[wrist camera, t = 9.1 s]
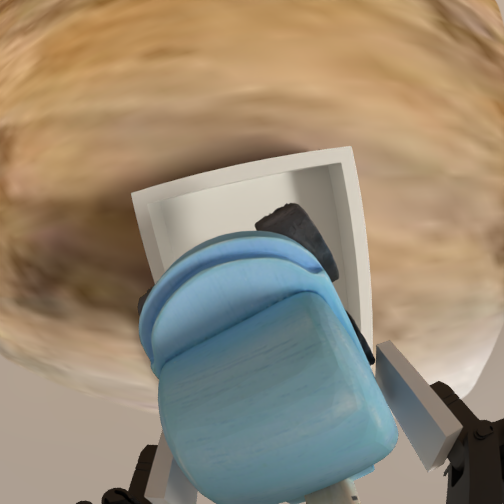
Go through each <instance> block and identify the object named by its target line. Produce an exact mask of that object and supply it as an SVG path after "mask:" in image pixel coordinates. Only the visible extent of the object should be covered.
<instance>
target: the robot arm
mask: <svg viewBox="0 0 504 504" xmlns="http://www.w3.org/2000/svg"><path fill="white" fill-rule="evenodd" d="M375 379H376V382H377V384H378V386H379V388H380V390H381V392H382V394H383V396H384V398H385V400H386V403H387V404H388V406H389V408H390V409H391V411H392V413H393V414H394V416H395V417H396V419H397V421H398V422H399V424H400V426H401V427H402V429H403V431H404V432H405V434H406V436H407V437H408V439H409V441H410V443H411V444H412V446H413V448H414V449H415V451H416V453H417V455H418V456H419V458H420V460H421V461H422V463H423V465H424V466H425V468H426V470H427V472H430V471H432V470H434V469H436V468H437V467H439V466H441V465H443V464H444V462H445V460H446V458H448V459H449V461H450V464H449V466H448V467H447V469H446V470H445V472H444V476H446V474H447V473H448V489H447V500H446V504H502V503H503V504H504V419H501V420H498V421H496V422H490V421H487V420H479V419H478V418H477V417H476V416H475V415H474V414H473V413H472V411H471V410H470V409H469V408H468V407H467V406H466V405H465V403H463V401H462V400H461V399H459V397H458V396H457V395H456V394H455V393H454V391H453V390H452V389H451V388H450V387H449V386H448V385H446V384H444V383H442V382H440V381H438V382H436V383H434V384H432V385H430V386H429V385H428V383H427V382H426V381H425V380H424V379H423V377H422V376H421V375H420V374H419V373H418V372H417V371H416V369H415V368H414V367H413V366H412V365H411V364H410V362H409V361H408V360H407V359H406V358H405V357H404V356H403V355H402V353H401V352H400V351H399V350H398V349H397V348H396V347H395V346H394V344H393V343H392V342H391V341H390V340H389V341H386V342H383V343H380V344H377V345H376V374H375ZM197 492H198V490H197V489H196V488H195V487H194V486H193V485H192V484H191V482H190V481H189V480H188V479H187V477H186V476H185V475H184V473H183V472H182V470H181V469H180V467H179V466H178V464H177V462H176V461H175V459H174V457H173V455H172V452H171V450H170V448H169V446H168V444H167V442H166V439H165V436H164V432H163V430H162V433H161V437H160V440H159V444H158V445H147V446H146V447H145V448H144V449H143V450H142V452H141V453H140V456H139V459H138V463H137V465H136V470H135V472H134V475H133V478H132V481H131V484H130V487H129V490H128V491H127V490H125V489H122V488H113V489H110V490H108V491H107V492H106V493H104V495H103V497H102V504H196V501H197ZM76 504H92V503H91V502H89V501H80V502H78V503H76Z"/></svg>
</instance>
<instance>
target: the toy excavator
mask: <svg viewBox="0 0 504 504" xmlns="http://www.w3.org/2000/svg"><path fill="white" fill-rule="evenodd" d="M255 228H256V230H257V231H240V232H234V233H229V234H224V235H220V236H217V237H215V238H212V239H209V240H207V241H205V242H203V243H201V244H199V245H197V246H195V247H194V248H192V249H190V250H189V251H187V252H186V253H184V254H183V255H182V256H181V257H179V258H178V259H177V260H176V261H175V262H174V263H173V264H172V265H171V266H170V267H169V268H168V269H167V271H166V272H165V273H164V274H163V275H162V276H161V278H160V279H159V280H158V281H157V283H156V284H155V285H154V286H153V287H151V288H150V289H149V290H148V291H147V293H146V294H145V295H143V296H142V297H141V298H140V299H139V303H138V312H139V315H140V319H139V337H140V341H141V344H142V346H143V348H144V350H145V352H146V354H147V356H148V357H149V359H150V361H151V369H152V371H153V373H154V374H155V375H156V376H157V378H158V379H159V387H158V406H159V414H160V420H161V424H162V428H163V432H164V436H165V439H166V442H167V444H168V446H169V448H170V450H171V452H172V455H173V457H174V459H175V461H176V462H177V464H178V466H179V467H180V469H181V470H182V472H183V473H184V475H185V476H186V477H187V479H188V480H189V481H190V482H191V484H192V485H193V486H194V487H195V488H196V489H197V490H198V491H199V492H200V493H201V494H202V495H204V496H205V497H207V498H208V499H210V500H212V501H213V502H214V503H216V504H279V503H282V502H288V503H290V504H299V503H302V502H305V501H306V504H361V502H360V499H359V497H358V494H357V491H356V488H355V485H354V483H353V481H354V480H356V479H358V478H360V477H362V476H365V475H367V474H369V473H371V472H373V471H374V464H375V463H377V462H379V461H381V460H382V459H383V458H385V457H386V456H387V455H388V454H389V453H390V452H391V451H392V450H393V449H394V447H395V445H396V443H397V440H398V429H397V426H396V423H395V421H394V418H393V416H392V414H391V411H390V409H389V407H388V405H387V403H386V400H385V398H384V396H383V394H382V392H381V390H380V388H379V386H378V384H377V382H376V379H375V377H374V374H373V372H372V369H371V367H370V366H371V365H373V364H374V363H375V358H374V356H373V354H372V352H371V349H370V347H369V345H368V343H367V341H366V339H365V338H364V336H363V335H362V334H361V332H360V329H359V328H358V326H357V325H356V323H355V320H354V319H353V318H352V316H351V315H350V314H349V313H348V311H346V310H345V308H344V307H343V305H342V303H341V300H340V298H339V296H338V294H337V292H336V290H335V288H334V286H333V284H332V283H333V282H334V281H335V280H338V279H339V271H338V268H337V265H336V262H335V260H334V258H333V255H332V253H331V251H330V249H329V248H328V246H327V245H326V243H325V241H324V239H323V237H322V235H321V234H320V232H319V231H318V229H317V227H316V226H315V224H314V223H313V221H312V220H311V219H310V217H309V216H308V214H307V213H306V211H305V210H304V209H303V208H302V207H301V206H300V205H299V204H296V203H289V204H288V203H286V204H285V205H284V206H283V207H280V208H277V209H276V210H275V211H274V212H273V213H272V214H271V213H269V215H268V216H264V217H263V218H262V219H260V220H259V221H258V222H256V223H255Z"/></svg>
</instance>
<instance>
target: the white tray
mask: <svg viewBox="0 0 504 504" xmlns="http://www.w3.org/2000/svg"><path fill="white" fill-rule="evenodd" d="M131 196H132V201H133V205H134V210H135V214H136V218H137V222H138V226H139V230H140V234H141V238H142V241H143V245H144V249H145V252H146V256H147V259H148V263H149V266H150V270H151V273H152V276H153V279H154V283H155V284H156V283H157V281H158V280H159V279H160V278H161V276H162V275H163V274H164V273H165V272H166V271H167V269H168V268H169V267H170V266H171V265H172V264H173V263H174V262H175V261H176V260H177V259H178V258H179V257H181V256H182V255H183V254H184V253H186V252H187V251H189V250H190V249H192V248H194V247H195V246H197V245H199V244H201V243H203V242H205V241H207V240H209V239H212V238H215V237H217V236H220V235H224V234H229V233H234V232H240V231H257V230H256V228H255V223H256V222H258V221H259V220H260V219H262V218H263V217H264V216H268V215H269V213H271V214H272V213H273V212H274V211H275V210H276V209H277V208H280V207H283V206H284V205H285V204H286V203H288V204H289V203H296V204H299V205H300V206H301V207H302V208H303V209H304V210H305V211H306V213H307V214H308V216H309V217H310V219H311V220H312V221H313V223H314V224H315V226H316V227H317V229H318V231H319V232H320V234H321V235H322V237H323V239H324V241H325V243H326V245H327V246H328V248H329V249H330V251H331V253H332V255H333V258H334V260H335V262H336V265H337V268H338V271H339V279H338V280H335V281H334V282H333V283H332V284H333V286H334V288H335V290H336V292H337V294H338V296H339V298H340V300H341V303H342V305H343V307H344V308H345V310H346V311H348V313H349V314H350V315H351V316H352V318H353V319H354V320H355V323H356V325H357V326H358V328H359V329H360V332H361V334H362V335H363V336H364V338H365V339H366V341H367V343H368V345H369V347H370V349H371V352H373V326H372V295H371V279H370V265H369V254H368V244H367V235H366V227H365V220H364V212H363V205H362V199H361V193H360V187H359V181H358V176H357V170H356V165H355V160H354V155H353V151H352V146H348V147H339V148H331V149H324V150H317V151H310V152H304V153H297V154H291V155H285V156H280V157H274V158H269V159H263V160H258V161H253V162H248V163H244V164H239V165H234V166H230V167H225V168H221V169H217V170H212V171H208V172H204V173H200V174H196V175H192V176H188V177H185V178H181V179H177V180H174V181H170V182H166V183H163V184H159V185H156V186H153V187H149V188H146V189H143V190H139V191H136V192H133V193H131ZM370 367H371V369H372V365H371V366H370Z"/></svg>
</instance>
